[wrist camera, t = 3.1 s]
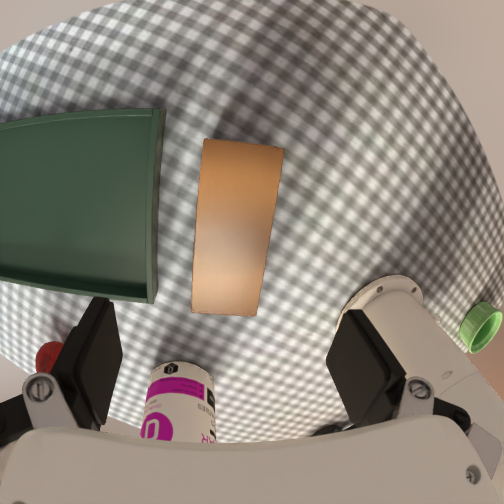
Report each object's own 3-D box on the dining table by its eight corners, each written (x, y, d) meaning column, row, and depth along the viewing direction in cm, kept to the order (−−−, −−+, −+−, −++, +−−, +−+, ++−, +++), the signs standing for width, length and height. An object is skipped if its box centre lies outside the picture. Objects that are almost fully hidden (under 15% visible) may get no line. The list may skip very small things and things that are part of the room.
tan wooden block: (207, 137, 22) (203, 138, 16) (269, 144, 23) (284, 148, 17) (195, 276, 27) (191, 312, 21) (248, 280, 28) (256, 316, 22)
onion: (44, 324, 27) (18, 366, 20) (80, 334, 28) (57, 380, 21) (54, 356, 30) (34, 397, 22) (88, 365, 31) (71, 410, 23)
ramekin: (494, 297, 36) (508, 309, 32) (474, 336, 39) (486, 350, 35) (471, 298, 34) (487, 312, 30) (449, 342, 38) (462, 357, 34)
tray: (166, 110, 20) (160, 108, 18) (157, 291, 27) (153, 304, 25) (-18, 129, 17) (-31, 131, 14) (-5, 268, 23) (-15, 277, 21)
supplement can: (139, 373, 32) (119, 474, 18) (183, 348, 30) (174, 465, 17) (182, 403, 35) (178, 496, 21) (226, 382, 34) (235, 486, 20)
